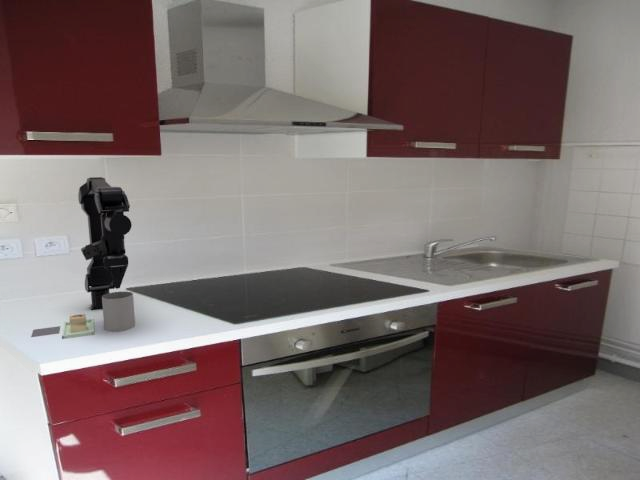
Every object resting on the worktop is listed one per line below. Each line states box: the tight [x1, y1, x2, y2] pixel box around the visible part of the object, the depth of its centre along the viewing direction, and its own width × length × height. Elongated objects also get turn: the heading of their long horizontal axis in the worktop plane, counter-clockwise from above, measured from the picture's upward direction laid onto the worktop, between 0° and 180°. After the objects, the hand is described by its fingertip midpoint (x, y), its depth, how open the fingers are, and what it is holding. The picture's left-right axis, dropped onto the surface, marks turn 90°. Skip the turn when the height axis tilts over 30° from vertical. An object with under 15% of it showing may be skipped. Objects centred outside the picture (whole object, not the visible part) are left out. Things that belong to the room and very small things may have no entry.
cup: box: [102, 291, 136, 333], centre depth 146 cm, size 8×8×10 cm
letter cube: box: [69, 313, 87, 333], centre depth 144 cm, size 4×4×4 cm
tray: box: [61, 318, 95, 340], centre depth 145 cm, size 13×8×1 cm, turn 25°
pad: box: [30, 325, 61, 338], centre depth 143 cm, size 7×7×1 cm
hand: (116, 284), depth 145 cm, fingers open, 9 cm apart
